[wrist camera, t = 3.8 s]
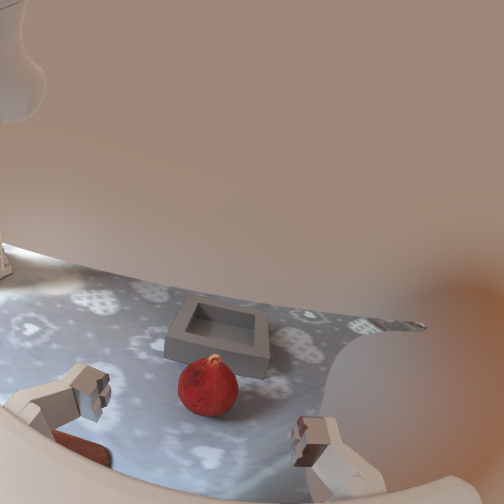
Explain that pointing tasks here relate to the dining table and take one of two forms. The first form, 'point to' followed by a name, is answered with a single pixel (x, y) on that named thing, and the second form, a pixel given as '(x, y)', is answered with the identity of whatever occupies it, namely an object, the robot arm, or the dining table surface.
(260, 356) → the holder
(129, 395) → the dining table surface
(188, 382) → the red round fruit
